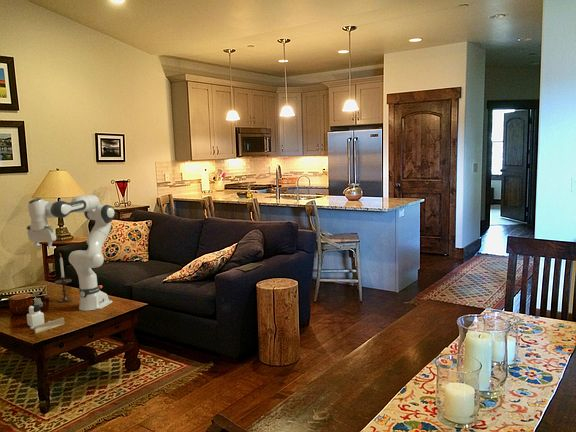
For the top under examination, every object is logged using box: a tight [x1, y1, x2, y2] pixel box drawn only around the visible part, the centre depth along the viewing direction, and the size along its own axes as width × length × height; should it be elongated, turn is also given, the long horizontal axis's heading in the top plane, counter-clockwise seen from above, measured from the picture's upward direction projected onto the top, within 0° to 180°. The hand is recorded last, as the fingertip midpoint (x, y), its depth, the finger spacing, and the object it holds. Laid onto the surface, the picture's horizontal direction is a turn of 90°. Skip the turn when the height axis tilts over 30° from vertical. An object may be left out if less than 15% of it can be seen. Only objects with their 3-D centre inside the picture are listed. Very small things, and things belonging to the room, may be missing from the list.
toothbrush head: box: [33, 296, 44, 308], centre depth 334 cm, size 5×7×25 cm
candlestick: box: [54, 252, 73, 304], centre depth 338 cm, size 11×11×35 cm
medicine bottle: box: [26, 304, 45, 327], centre depth 292 cm, size 7×7×12 cm
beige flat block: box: [29, 317, 65, 335], centre depth 287 cm, size 11×18×4 cm, turn 148°
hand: (44, 248), depth 288 cm, fingers open, 8 cm apart
